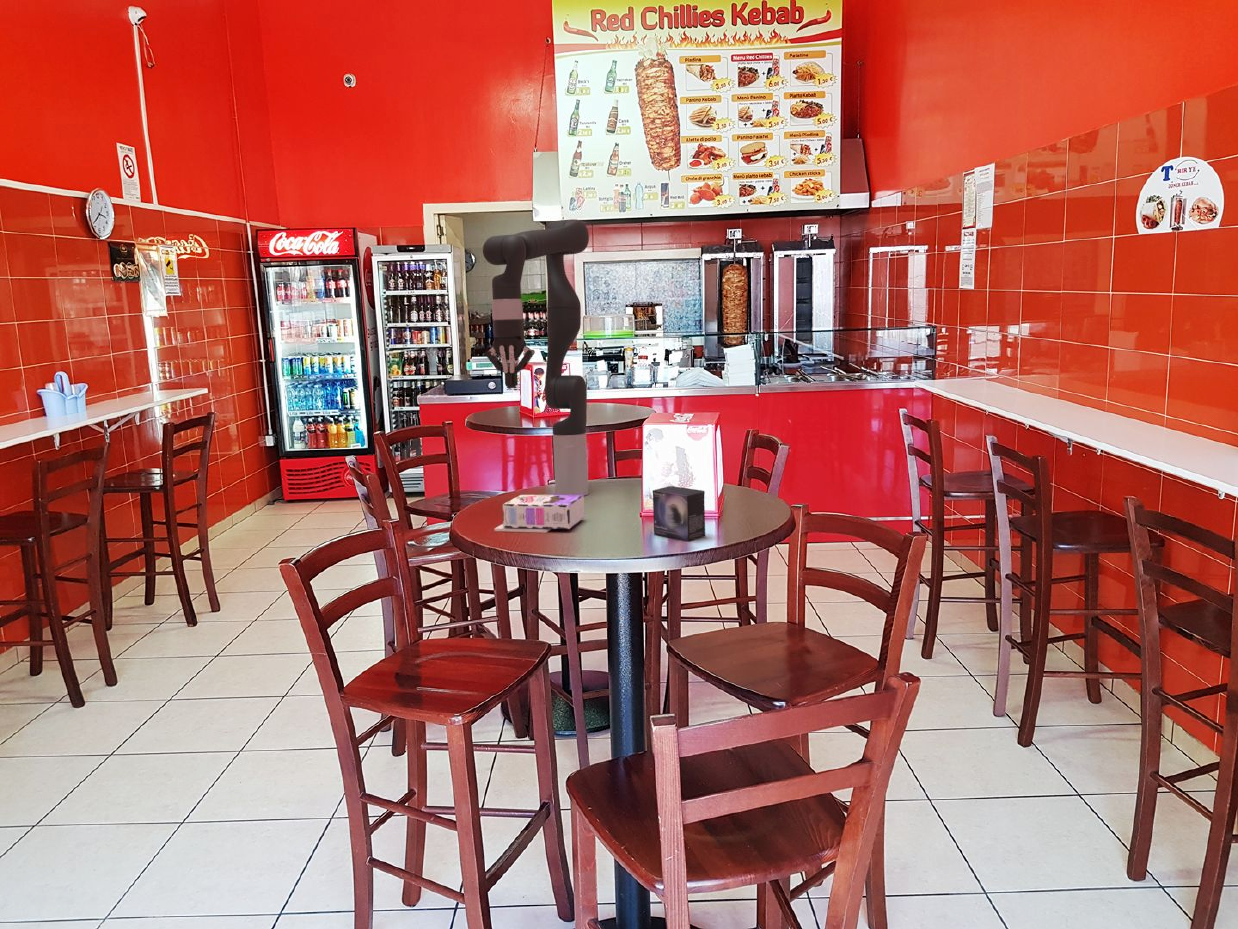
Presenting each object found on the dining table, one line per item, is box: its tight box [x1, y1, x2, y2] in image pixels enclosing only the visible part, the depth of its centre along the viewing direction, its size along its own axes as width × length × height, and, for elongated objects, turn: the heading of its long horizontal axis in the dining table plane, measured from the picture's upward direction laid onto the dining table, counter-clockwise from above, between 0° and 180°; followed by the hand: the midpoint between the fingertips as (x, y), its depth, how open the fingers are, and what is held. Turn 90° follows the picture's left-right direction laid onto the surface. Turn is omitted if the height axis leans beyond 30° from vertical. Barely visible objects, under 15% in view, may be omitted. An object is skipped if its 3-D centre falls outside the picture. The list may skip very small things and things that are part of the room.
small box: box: [652, 485, 706, 542], centre depth 214 cm, size 11×6×10 cm, turn 45°
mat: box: [494, 523, 553, 534], centre depth 231 cm, size 16×13×1 cm
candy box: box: [502, 494, 586, 530], centre depth 229 cm, size 14×6×16 cm
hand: (511, 387), depth 240 cm, fingers closed
